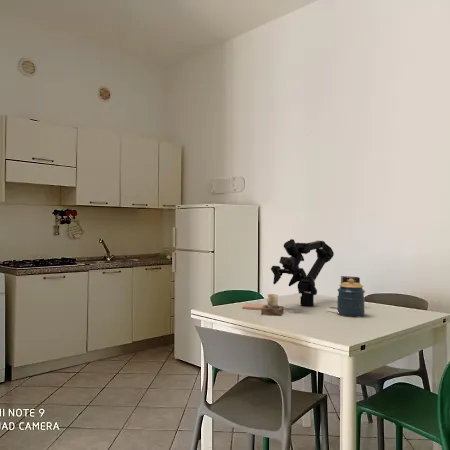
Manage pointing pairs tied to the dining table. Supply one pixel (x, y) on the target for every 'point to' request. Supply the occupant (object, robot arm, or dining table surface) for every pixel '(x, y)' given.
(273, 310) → the walnut pocket block
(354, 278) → the coffee box
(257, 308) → the terracotta tile
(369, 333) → the dining table surface
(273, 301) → the birch peg
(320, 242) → the robot arm
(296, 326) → the dining table surface
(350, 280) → the canister
